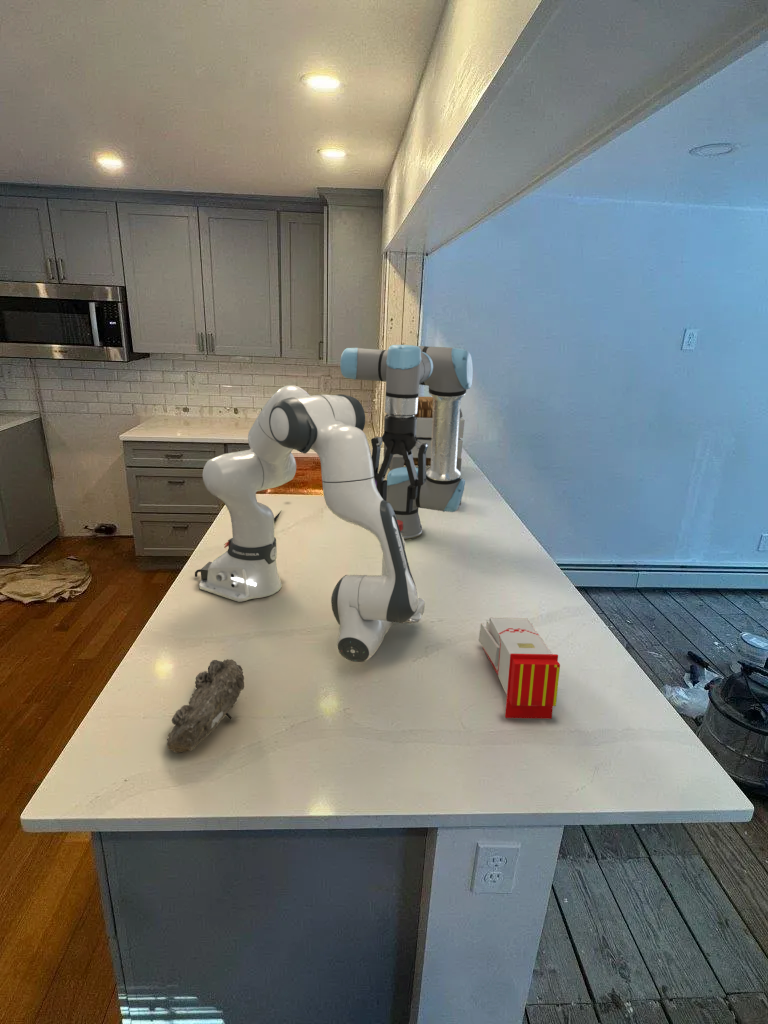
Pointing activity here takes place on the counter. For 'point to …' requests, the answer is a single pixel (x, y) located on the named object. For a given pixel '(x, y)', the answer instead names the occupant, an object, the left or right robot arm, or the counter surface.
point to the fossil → (206, 705)
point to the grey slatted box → (426, 435)
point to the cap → (400, 525)
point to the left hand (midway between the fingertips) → (391, 589)
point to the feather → (276, 517)
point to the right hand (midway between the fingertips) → (395, 508)
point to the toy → (522, 666)
